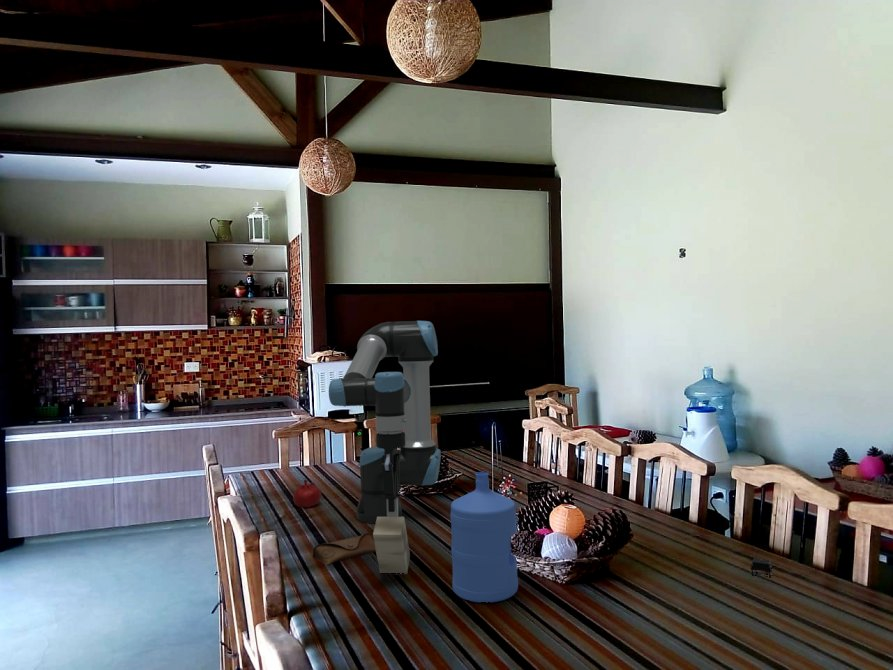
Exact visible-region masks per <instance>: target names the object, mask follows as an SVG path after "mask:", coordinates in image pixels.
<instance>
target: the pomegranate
mask: <svg viewBox="0 0 893 670" xmlns="http://www.w3.org/2000/svg"><path fill="white" fill-rule="evenodd" d="M303 483H304V484H297V485H296V487H297V488H296V490H295V492H294V494H293V497H292V499H293V503H294V505H295V506H296V507H298V508H300V507H308V508H312V507H314V506H316V505H318V504H319V502H321V499H322V491H321V489H320V487H318V486H317V485H318V483H314V482H312V481H311V482H310V483H309V484H308V479H304V480H303ZM311 506H312V507H311Z"/></svg>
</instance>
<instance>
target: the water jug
mask: <svg viewBox="0 0 893 670" xmlns="http://www.w3.org/2000/svg"><path fill="white" fill-rule="evenodd" d="M489 475H490V474H489V471H488V472H487V471H478V472H475V478H476V479H475V489H474V490H473V491H470V492H468V493H467V494H465V495H462V496H461V497H458V498H456V499H454V500H453V501H452V502H451V503H450V527H451V549H450V551H451V559H452V560H451V561H452V580H451V581H452V583H451V584H452V590H453V592H454V593H455V594H456V595H457V596H458V597H459V598H461V599H463V600H466V601H468V600H469V601H470V602H473V603H481V602H486V603H487V604H488V602H490V603H497V602H502V601H505V600H507V599H510V598H511V597H513V596H514V595H515V594H516V593H517V592H518V589H519V579H518V564H517V563H518V561H517V558H516V556H515V554H513V553H512V548H511V547H512V544H511V540H512V539H511V537H512V536H514V534H516V532H517V510H516V503H515V501H514V500H512V499H511V498H510V497H508V496H505V495H503V494H500V493H498V492H495V491H493V490H491V489H490V485H489V484H490V479H489ZM486 603H485V604H486Z"/></svg>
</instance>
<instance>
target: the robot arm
mask: <svg viewBox="0 0 893 670" xmlns="http://www.w3.org/2000/svg"><path fill="white" fill-rule="evenodd" d="M356 349H357V351H356V353H355V355H354V356H353V359H352V361H351V362H350V364H349V367H348V368H347V370H346V372H345V374H344V376H343V377H342V378H340V377H339V378H335V379H331V381H330V383H329V385H328V398H329V402H330V404H331V405H332V406H335V407H358V406H360V407H362V406H363V407H364V406H365V407H366V406H373V407H375V431H376V432H377V433H376V434H375V440H376V441H375V446H372V447H368V448H365V449H363V450H362V451H361V453H360V455H359V474H360V475H359V476H360V497H359V500H358V504H357V508H356V512H355V513H356V519H357V521H359V522H362V523H366V524H368V523H369V524H376V520H377V517H403V509H402V505H401V502H400V500H399V498H401V496H402V493H400V486H432V485H434V484H436V483H437V481H438V478H439V473H440V466H441V465H440V464H441V453H442V452H441V449H439V448H437V445H436V444H437V443H436V442H435V441H434V440H433V439H432V428H431V425H432V424H431V423H432V422H431V420H432V419H431V394H430V392H431V391H430V390H431V389H430V388H431V387H430V386H431V385H430V366H431V365H432V363H434V357H436V356H438V353H439V350H438V339H437V335H436V329H435V327H434V323H432V322H431V321H429V320H428V321H427V320H410V321H409V320H407V321H385V322H382V323H379V324H377V325H375V326H373V327H371V328H369V329H368V330H367V331H365V332H364V334H362V335H361V337H360V338H359V340H358V342H357V346H356ZM389 357H391V358H394V357H398V358H397V359H398V363H399V364H400V366H401V367H402V369H403V370H402V371H403V372H401V371H383V372H382V371H381V372H376V370H377V368H378V365H379V362H380V361H381V360H383V359H384V358H389ZM375 372H376V374H375ZM373 376H375V377H373Z"/></svg>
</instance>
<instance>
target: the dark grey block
mask: <svg viewBox="0 0 893 670" xmlns="http://www.w3.org/2000/svg"><path fill="white" fill-rule="evenodd" d="M750 570H751V572H752V576H759V577H760V575H761V574H764V576H765V575H768V574H769V578H771V575H772V573H773V566H772V563H771V560H770V559H762V561H761V558H756V557H753V560H752V563H751V564H750ZM760 571H761V572H760ZM762 571H763V572H762ZM765 577H768V576H765Z"/></svg>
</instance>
